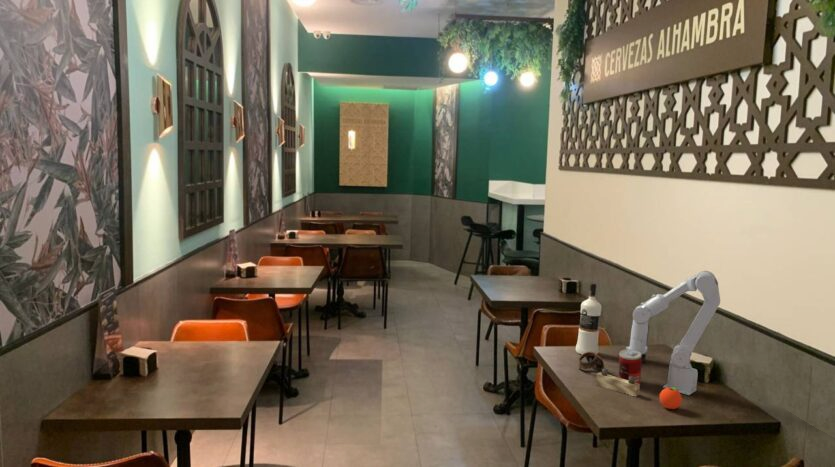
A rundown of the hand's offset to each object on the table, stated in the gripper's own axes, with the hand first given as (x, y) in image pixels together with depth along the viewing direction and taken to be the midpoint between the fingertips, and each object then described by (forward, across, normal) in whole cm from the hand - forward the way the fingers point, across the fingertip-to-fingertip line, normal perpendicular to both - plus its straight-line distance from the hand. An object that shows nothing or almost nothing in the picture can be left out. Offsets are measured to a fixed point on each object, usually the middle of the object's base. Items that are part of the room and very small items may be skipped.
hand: (634, 373), depth 234 cm
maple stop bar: (+2, +16, 0) cm, 16 cm away
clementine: (+3, +17, +20) cm, 26 cm away
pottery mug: (+3, +3, -16) cm, 17 cm away
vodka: (+3, -16, -27) cm, 32 cm away
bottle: (+3, -25, -9) cm, 27 cm away
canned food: (+2, +4, 0) cm, 5 cm away
